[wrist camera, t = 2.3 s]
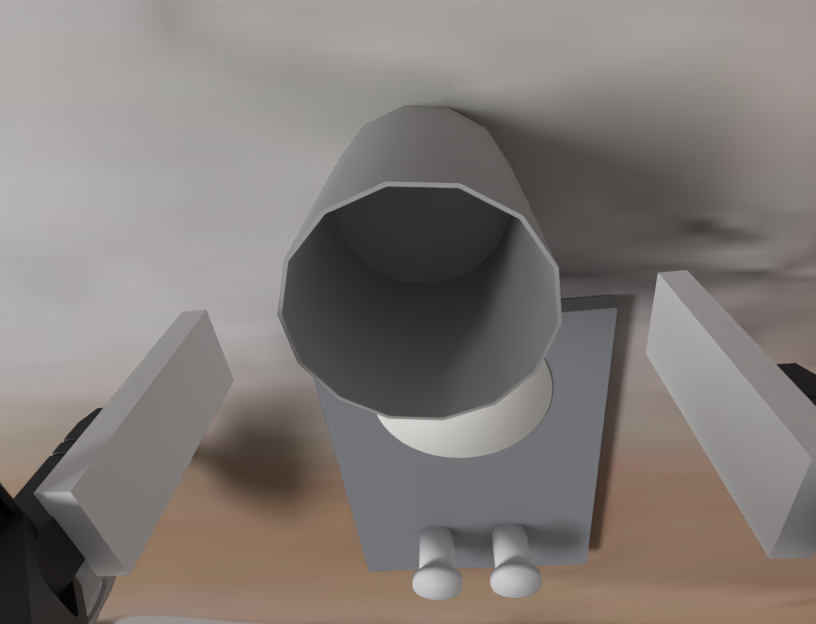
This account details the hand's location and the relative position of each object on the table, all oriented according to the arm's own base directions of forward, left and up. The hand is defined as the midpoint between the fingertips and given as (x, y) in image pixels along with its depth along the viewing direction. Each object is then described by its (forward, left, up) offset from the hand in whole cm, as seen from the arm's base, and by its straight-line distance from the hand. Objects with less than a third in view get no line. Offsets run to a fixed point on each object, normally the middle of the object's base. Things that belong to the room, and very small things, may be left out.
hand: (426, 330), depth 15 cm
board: (+17, +1, -10) cm, 19 cm away
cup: (0, 0, -10) cm, 10 cm away
